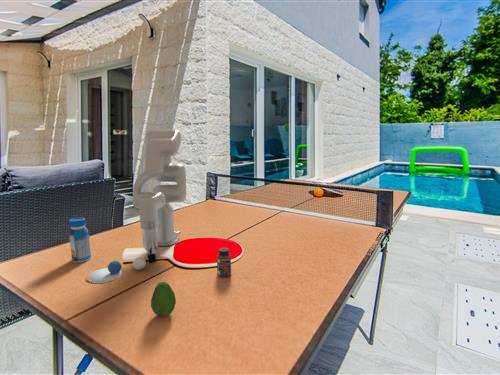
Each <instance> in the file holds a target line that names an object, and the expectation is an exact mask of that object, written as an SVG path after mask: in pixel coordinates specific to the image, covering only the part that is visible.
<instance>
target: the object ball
mask: <svg viewBox="0 0 500 375" xmlns="http://www.w3.org/2000/svg"><path fill="white" fill-rule="evenodd" d="M107 265H108V266H107V268H108V271H109V272H110V273H112V274H117V273H119V272H120V270H121V271H122V268H123V266H122V263H121V262H120V261H118V260H112V261H111V262H109V263H108V264H107Z"/></svg>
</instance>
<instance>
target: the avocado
mask: <svg viewBox="0 0 500 375" xmlns="http://www.w3.org/2000/svg"><path fill="white" fill-rule="evenodd" d="M151 295H152V296H151V300H150V306H151V310H152V312H153V314H155V315H156V316H158V317H160V318H162V317H163V318H164V317H168V316H169V315H171V313H173V311H174V309H175V307H176V302H177V298H176V293H175V292H174V290H173V289H172V286H171V285H170V284H169V283H168V282H165V281H161V282H158V283H157V285H156V286H155V288H154V291H153V293H152V294H151Z"/></svg>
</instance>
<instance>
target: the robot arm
mask: <svg viewBox="0 0 500 375" xmlns="http://www.w3.org/2000/svg"><path fill="white" fill-rule="evenodd" d="M145 138H146V141H147V142H146V143H145V144H146V145H145V155H144V156H145V158H144V159H145V160H144V170H142V172H141V173H140V174H139V175H138V176H137V178H136V180H135V182H134V184H133V187H132V188H133V189H132V205H133V207H134V208H136V209H138V212H139V224H140V229H141V232H142V246H143V248H144V250H145V251H146V252H147V262H148V264H150V265H151V264H155V263H157V257H156V256H157V255H156V250H158V247H160V246H161V247H166V246H167V247H168V246H172V245H175V244H177V243H178V242H179V238H178V235H181V234H182V232H181V230H178V231H176V228H175V211H174V208H173V206H172V205H171V204H172V203H184V202H185V201H186V199H187V175H186V174H187V173H186V167H185V166H184V165H183V164H181V163H172V157H175V156H176V155H177V154H178V152H179V149H180V146H181V144H182V134H181V132H180V130H178V129H151V130H148V131H147V132H146V136H145ZM153 178H155V180H156V181H157V182H161V183H176V184H158V185H155V186H154V187H153V188H152V190H151V191H145V192H144V191H142V188H143V186H144V184H146V182H149V180H151V179H153ZM170 203H171V204H170Z"/></svg>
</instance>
